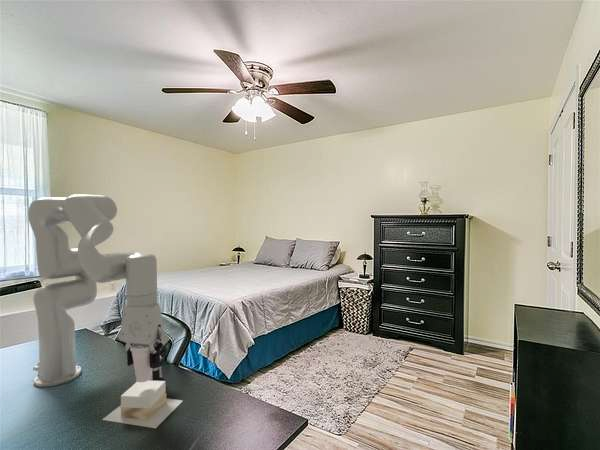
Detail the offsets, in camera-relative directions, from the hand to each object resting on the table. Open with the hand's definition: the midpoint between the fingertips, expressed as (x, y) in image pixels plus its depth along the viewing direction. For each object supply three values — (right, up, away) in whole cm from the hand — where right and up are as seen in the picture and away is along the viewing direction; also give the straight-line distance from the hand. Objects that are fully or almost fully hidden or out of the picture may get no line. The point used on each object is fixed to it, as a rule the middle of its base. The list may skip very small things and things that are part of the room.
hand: (143, 364), depth 86 cm
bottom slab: (0, -13, 0) cm, 13 cm away
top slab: (0, -10, 0) cm, 10 cm away
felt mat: (0, -13, 0) cm, 13 cm away
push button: (-3, -13, +11) cm, 17 cm away
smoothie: (0, -4, 0) cm, 4 cm away
